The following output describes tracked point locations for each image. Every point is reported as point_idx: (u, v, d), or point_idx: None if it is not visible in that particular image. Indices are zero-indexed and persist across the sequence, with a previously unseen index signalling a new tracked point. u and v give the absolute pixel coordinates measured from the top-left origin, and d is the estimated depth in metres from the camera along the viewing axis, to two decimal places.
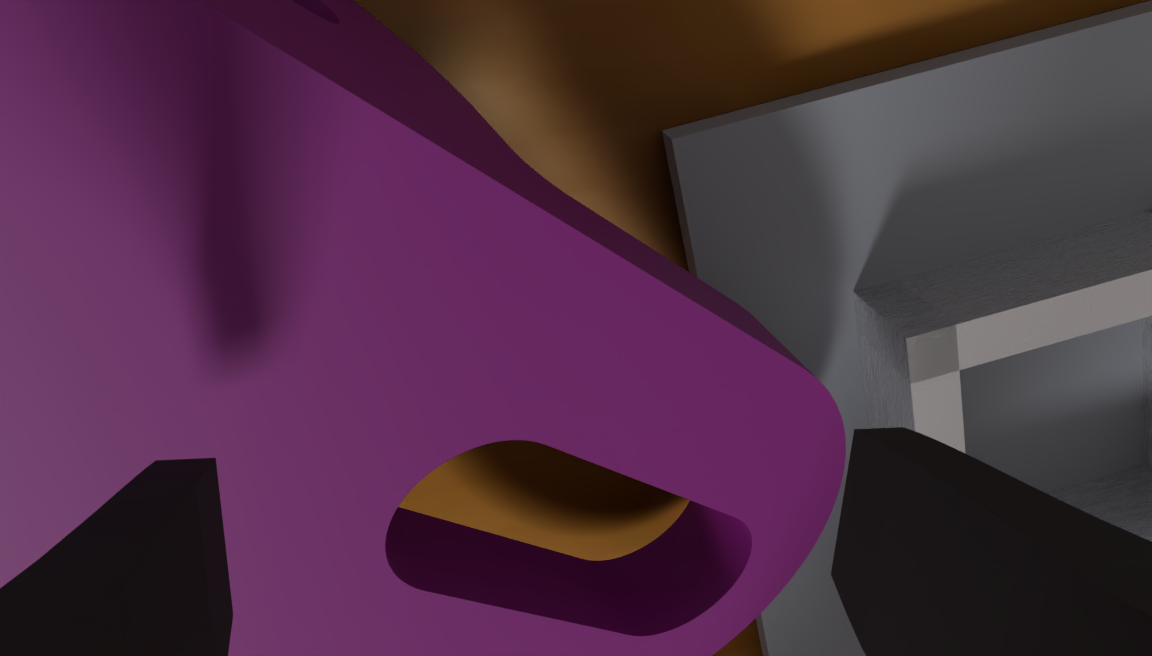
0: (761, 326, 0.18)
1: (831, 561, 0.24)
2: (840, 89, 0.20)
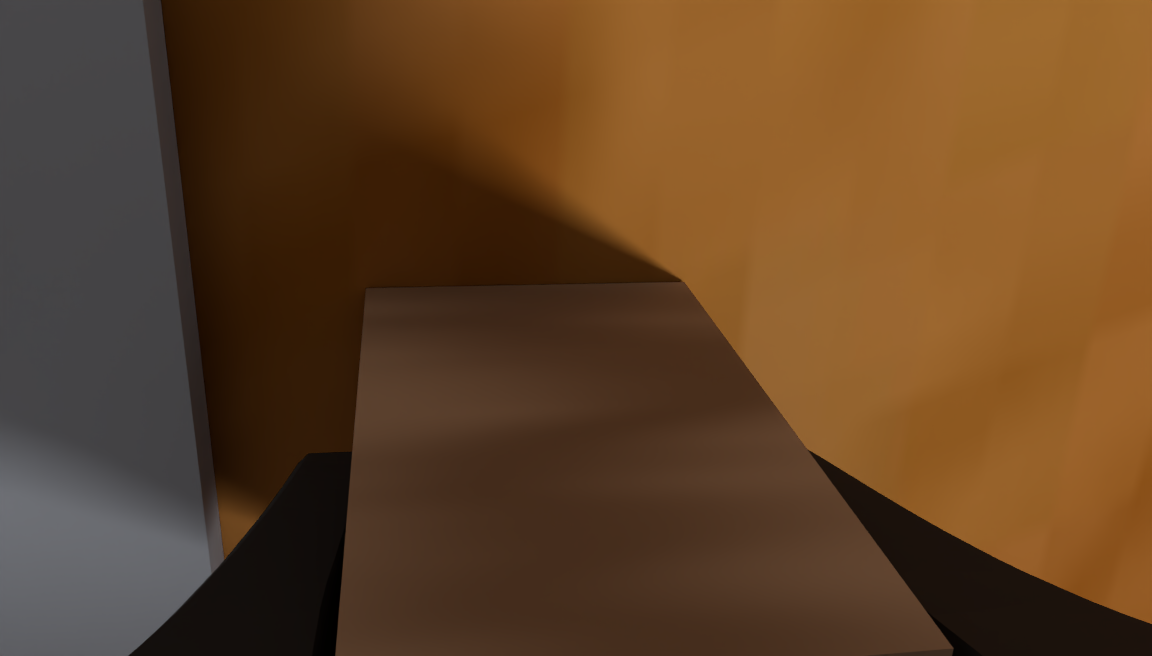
0: None
1: None
2: None
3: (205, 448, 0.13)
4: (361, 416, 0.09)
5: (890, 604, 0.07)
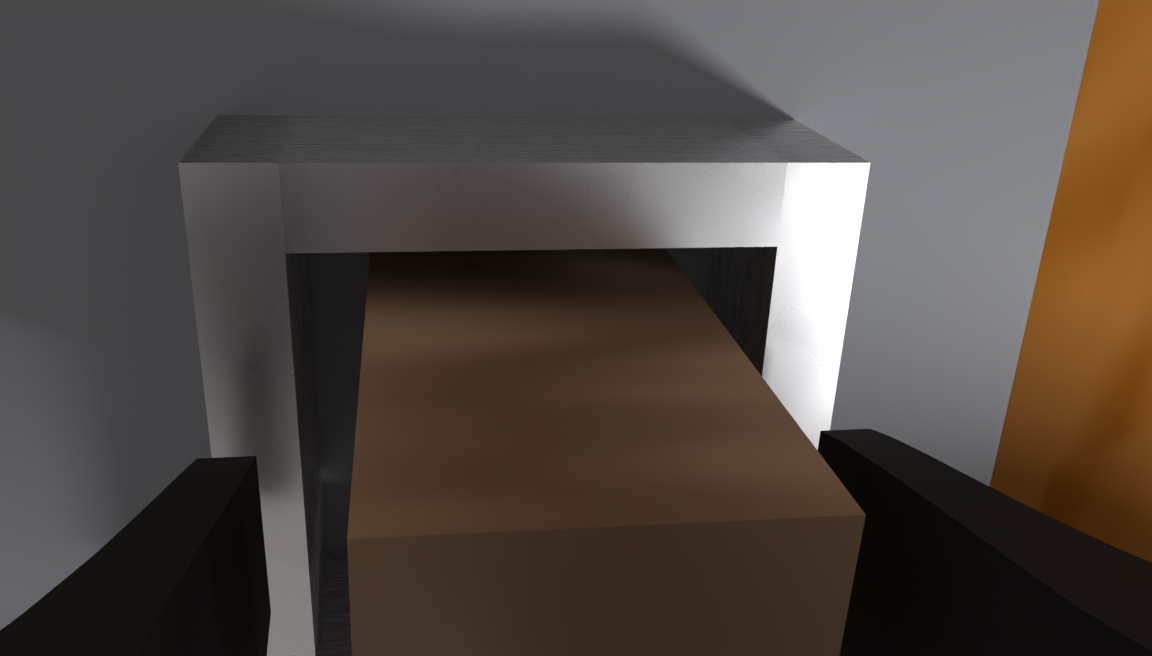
0: None
1: None
2: None
3: None
4: (368, 339, 0.11)
5: (816, 483, 0.08)
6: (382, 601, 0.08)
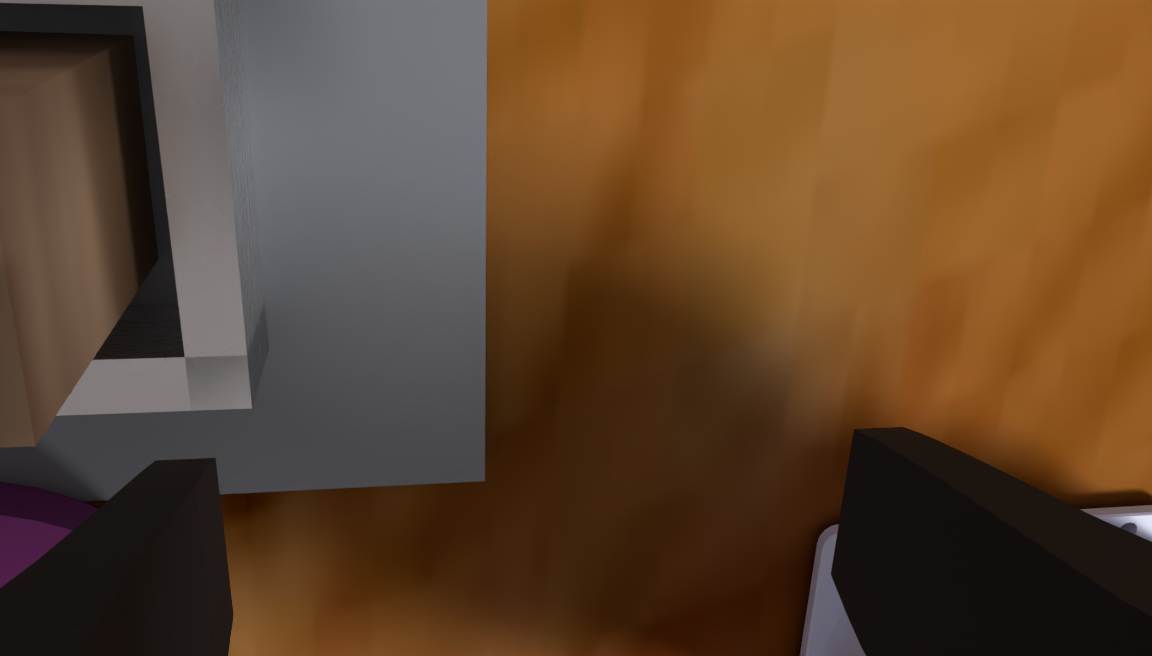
0: None
1: (230, 411, 0.20)
2: None
3: None
4: None
5: None
6: None
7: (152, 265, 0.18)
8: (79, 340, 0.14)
